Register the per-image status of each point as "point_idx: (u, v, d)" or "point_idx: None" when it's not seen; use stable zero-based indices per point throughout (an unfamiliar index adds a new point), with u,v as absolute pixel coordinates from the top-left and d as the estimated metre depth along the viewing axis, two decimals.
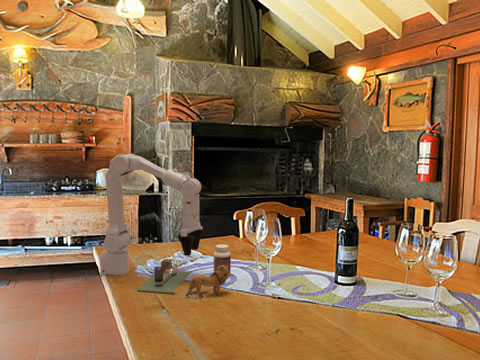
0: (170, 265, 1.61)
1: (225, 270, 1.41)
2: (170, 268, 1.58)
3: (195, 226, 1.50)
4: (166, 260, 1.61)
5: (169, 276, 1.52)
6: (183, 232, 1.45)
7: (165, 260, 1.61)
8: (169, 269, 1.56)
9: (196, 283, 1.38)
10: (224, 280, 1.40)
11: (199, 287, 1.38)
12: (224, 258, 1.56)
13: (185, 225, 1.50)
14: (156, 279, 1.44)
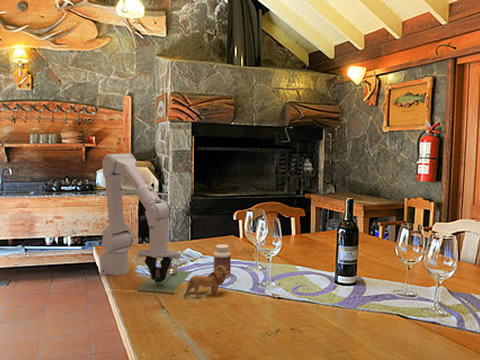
0: (170, 265, 1.61)
1: (223, 270, 1.41)
2: (170, 268, 1.58)
3: (150, 252, 1.43)
4: None
5: (169, 276, 1.52)
6: None
7: None
8: (169, 269, 1.56)
9: (194, 283, 1.38)
10: (222, 280, 1.40)
11: (197, 287, 1.38)
12: (224, 258, 1.56)
13: None
14: (156, 279, 1.44)
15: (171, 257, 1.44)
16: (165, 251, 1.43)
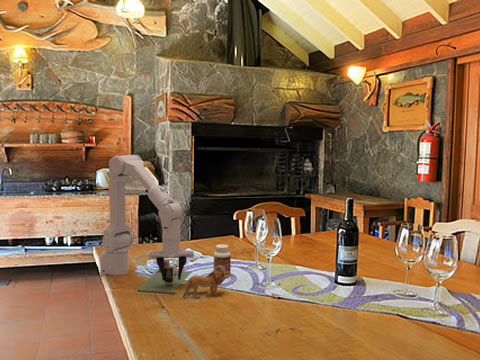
0: (168, 265, 1.61)
1: (222, 270, 1.40)
2: None
3: (166, 252, 1.42)
4: (164, 260, 1.61)
5: (173, 276, 1.53)
6: None
7: None
8: None
9: (193, 283, 1.37)
10: (221, 280, 1.40)
11: (196, 287, 1.38)
12: (224, 258, 1.56)
13: None
14: (167, 279, 1.44)
15: (185, 256, 1.45)
16: (179, 250, 1.44)
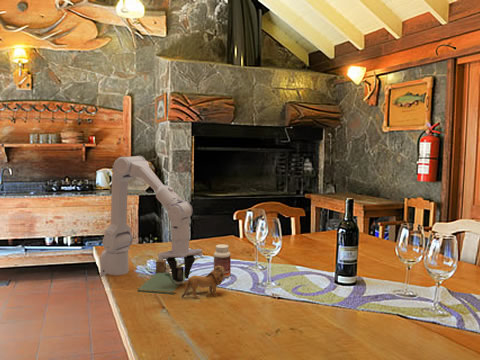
0: (165, 265, 1.61)
1: (221, 271, 1.40)
2: (169, 268, 1.58)
3: (177, 252, 1.43)
4: (161, 260, 1.60)
5: None
6: (158, 255, 1.43)
7: (160, 260, 1.60)
8: None
9: (192, 284, 1.37)
10: (220, 281, 1.40)
11: (195, 288, 1.37)
12: (224, 258, 1.56)
13: None
14: (179, 279, 1.45)
15: (193, 254, 1.47)
16: (188, 249, 1.46)
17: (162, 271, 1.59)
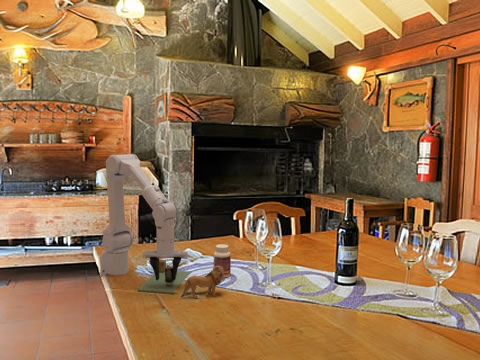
0: (165, 265, 1.61)
1: (220, 271, 1.40)
2: None
3: (158, 252, 1.42)
4: (161, 260, 1.60)
5: None
6: None
7: (160, 260, 1.60)
8: None
9: (191, 284, 1.37)
10: (219, 281, 1.40)
11: (194, 288, 1.37)
12: (224, 258, 1.56)
13: None
14: (168, 279, 1.44)
15: (179, 256, 1.44)
16: (173, 251, 1.44)
17: (162, 271, 1.59)
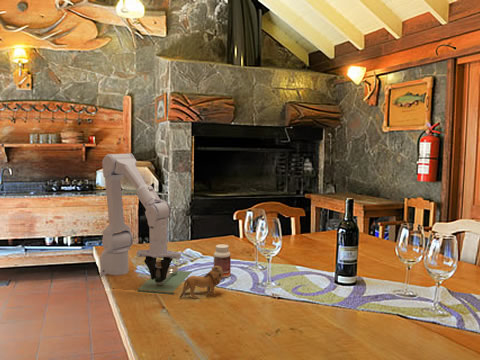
0: None
1: (219, 271, 1.40)
2: (170, 268, 1.58)
3: (150, 252, 1.43)
4: None
5: (169, 276, 1.52)
6: None
7: (160, 260, 1.60)
8: (170, 269, 1.56)
9: (190, 284, 1.37)
10: (218, 281, 1.40)
11: (193, 288, 1.37)
12: (224, 258, 1.56)
13: None
14: (156, 279, 1.44)
15: (171, 257, 1.44)
16: (165, 251, 1.43)
17: None
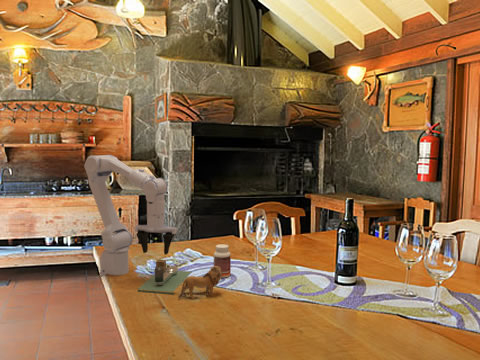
0: (165, 265, 1.61)
1: (218, 271, 1.40)
2: (170, 268, 1.58)
3: (148, 226, 1.48)
4: (161, 260, 1.60)
5: (169, 276, 1.52)
6: None
7: (160, 260, 1.60)
8: (170, 269, 1.56)
9: (189, 284, 1.37)
10: (217, 281, 1.39)
11: (192, 288, 1.37)
12: (224, 258, 1.56)
13: None
14: (156, 279, 1.44)
15: (168, 232, 1.49)
16: (162, 226, 1.49)
17: None
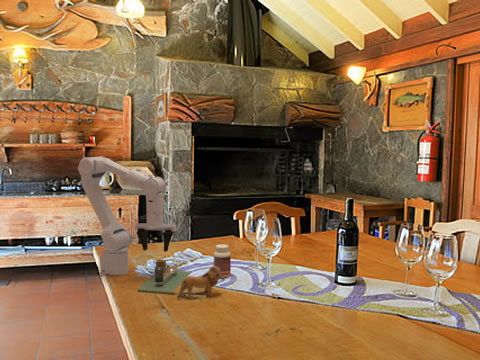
0: (165, 265, 1.61)
1: (217, 271, 1.40)
2: (170, 268, 1.58)
3: (147, 224, 1.51)
4: (161, 260, 1.60)
5: (169, 276, 1.52)
6: None
7: (160, 260, 1.60)
8: (170, 269, 1.56)
9: (187, 284, 1.37)
10: (216, 281, 1.39)
11: (190, 288, 1.37)
12: (224, 258, 1.56)
13: None
14: (156, 279, 1.44)
15: (167, 229, 1.52)
16: (161, 223, 1.52)
17: None
